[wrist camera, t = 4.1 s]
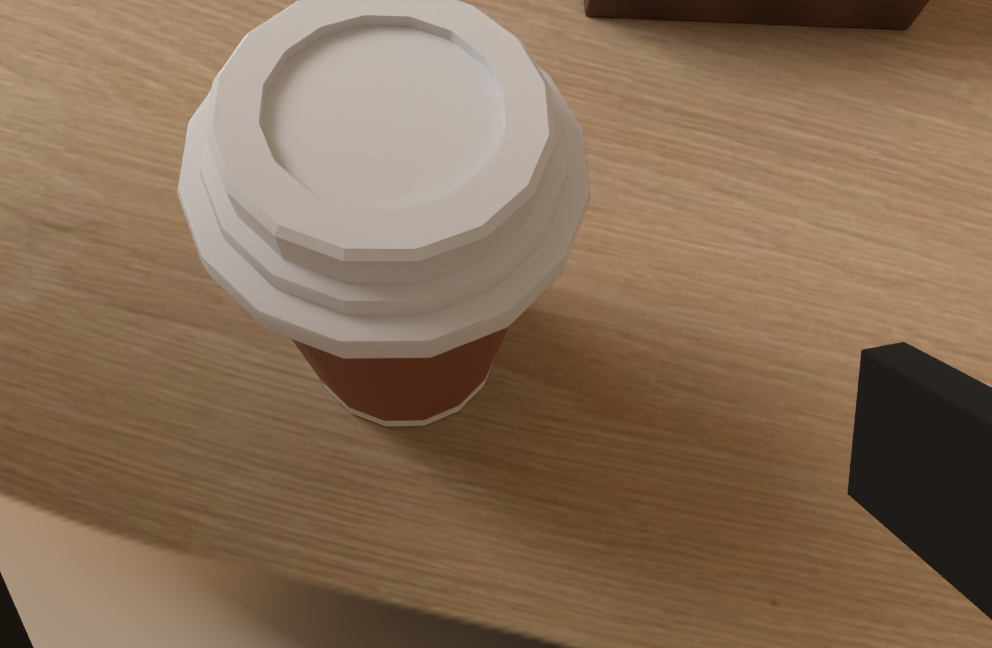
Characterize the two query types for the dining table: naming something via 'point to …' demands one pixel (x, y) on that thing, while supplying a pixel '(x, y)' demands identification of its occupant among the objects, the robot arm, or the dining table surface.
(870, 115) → the dining table surface
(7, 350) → the dining table surface
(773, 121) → the dining table surface
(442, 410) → the coffee cup
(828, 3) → the stand
